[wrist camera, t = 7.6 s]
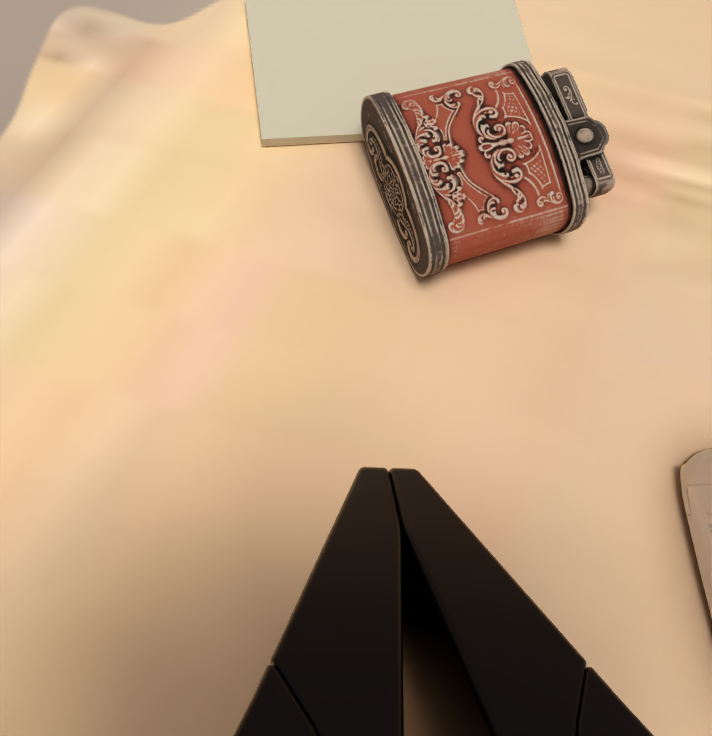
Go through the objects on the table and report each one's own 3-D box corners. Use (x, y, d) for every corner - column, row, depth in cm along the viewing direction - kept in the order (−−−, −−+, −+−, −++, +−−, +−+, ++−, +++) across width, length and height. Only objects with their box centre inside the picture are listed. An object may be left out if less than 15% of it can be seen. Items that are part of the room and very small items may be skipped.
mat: (262, 146, 23) (261, 139, 23) (245, 2, 25) (244, -8, 25) (545, 131, 25) (550, 123, 25) (508, -2, 27) (511, -11, 27)
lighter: (415, 287, 23) (603, 229, 25) (438, 259, 19) (653, 194, 21) (356, 128, 24) (541, 83, 25) (368, 75, 20) (580, 28, 22)
